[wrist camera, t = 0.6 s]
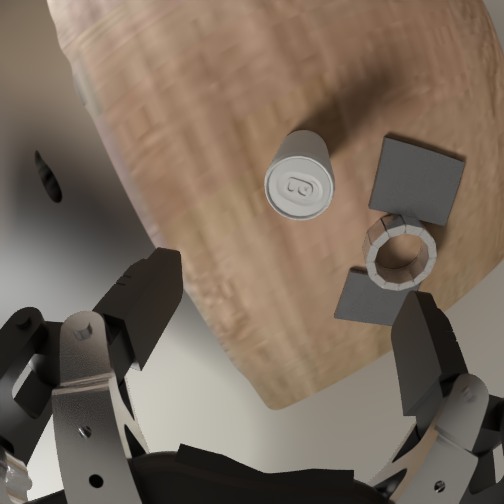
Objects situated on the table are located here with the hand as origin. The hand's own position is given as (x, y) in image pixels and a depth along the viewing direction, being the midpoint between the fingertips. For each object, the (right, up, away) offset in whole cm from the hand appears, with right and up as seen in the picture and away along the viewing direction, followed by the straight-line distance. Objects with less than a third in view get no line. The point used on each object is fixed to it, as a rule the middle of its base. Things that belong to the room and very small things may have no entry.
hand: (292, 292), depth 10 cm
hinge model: (+16, +2, +22) cm, 27 cm away
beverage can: (+4, +12, +19) cm, 23 cm away
